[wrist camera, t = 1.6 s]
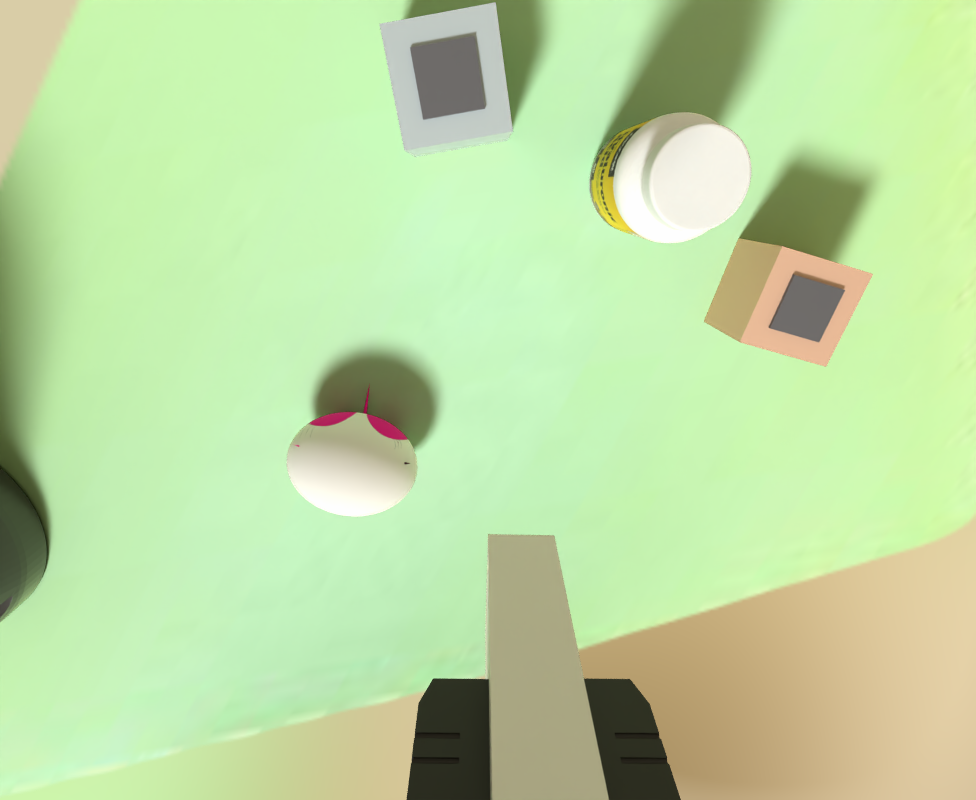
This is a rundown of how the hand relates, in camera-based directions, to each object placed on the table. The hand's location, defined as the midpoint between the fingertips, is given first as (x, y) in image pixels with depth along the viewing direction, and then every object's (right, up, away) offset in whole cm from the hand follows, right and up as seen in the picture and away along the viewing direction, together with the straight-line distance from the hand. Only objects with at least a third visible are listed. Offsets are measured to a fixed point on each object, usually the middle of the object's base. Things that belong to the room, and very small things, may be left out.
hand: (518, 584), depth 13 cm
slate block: (-3, +20, +16) cm, 26 cm away
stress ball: (-9, +2, +23) cm, 25 cm away
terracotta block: (+15, +11, +20) cm, 27 cm away
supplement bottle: (+7, +16, +18) cm, 25 cm away
